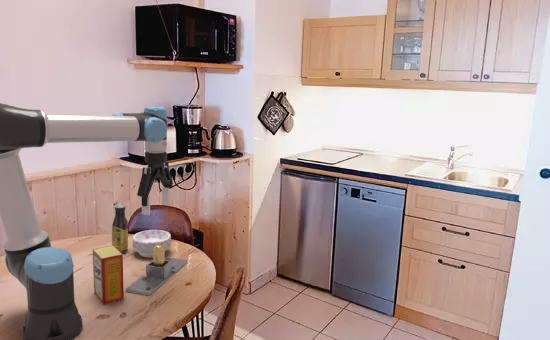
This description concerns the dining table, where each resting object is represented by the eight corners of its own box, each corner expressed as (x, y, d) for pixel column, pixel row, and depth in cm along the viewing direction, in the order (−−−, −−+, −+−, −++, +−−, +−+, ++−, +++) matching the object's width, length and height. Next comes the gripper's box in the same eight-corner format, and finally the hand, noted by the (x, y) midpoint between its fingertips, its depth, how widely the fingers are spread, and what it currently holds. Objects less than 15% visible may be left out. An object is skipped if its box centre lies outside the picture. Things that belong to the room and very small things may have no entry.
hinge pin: (161, 279, 159) (161, 248, 157) (151, 277, 160) (151, 246, 158) (166, 274, 163) (166, 244, 161) (156, 273, 164) (156, 242, 162)
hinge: (149, 295, 147) (149, 282, 146) (125, 291, 149) (125, 278, 148) (187, 262, 175) (187, 250, 174) (166, 259, 177) (166, 247, 176)
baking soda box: (94, 293, 147) (92, 248, 144) (113, 288, 151) (112, 244, 148) (103, 304, 140) (101, 257, 137) (123, 299, 144) (122, 253, 141)
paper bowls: (135, 263, 172) (135, 243, 170) (131, 249, 186) (130, 231, 184) (174, 258, 178) (174, 239, 177) (167, 245, 192) (167, 227, 190)
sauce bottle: (109, 252, 181) (107, 205, 177) (121, 247, 186) (120, 202, 182) (118, 256, 178) (117, 209, 174) (131, 251, 183) (130, 205, 179)
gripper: (146, 157, 140) (146, 220, 145) (182, 147, 164) (181, 202, 168) (125, 155, 142) (126, 217, 146) (164, 145, 166) (164, 199, 170)
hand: (156, 209), depth 157 cm, fingers open, 13 cm apart
